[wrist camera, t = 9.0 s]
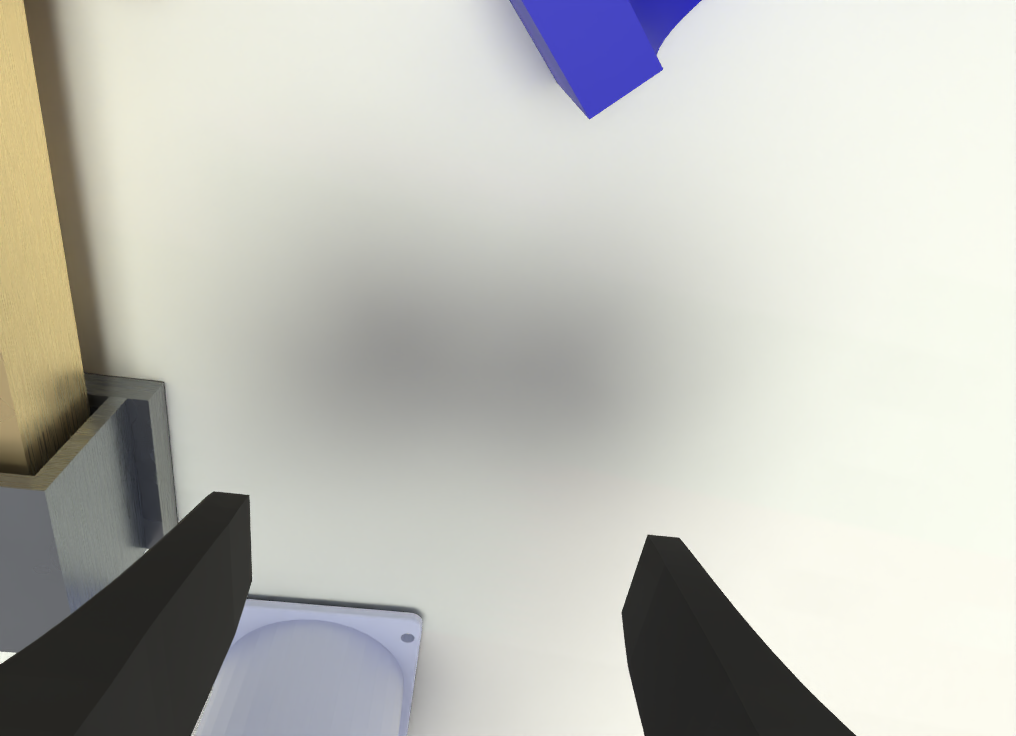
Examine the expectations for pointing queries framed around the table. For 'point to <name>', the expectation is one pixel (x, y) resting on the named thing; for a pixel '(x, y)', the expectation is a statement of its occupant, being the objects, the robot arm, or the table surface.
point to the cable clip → (600, 43)
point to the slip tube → (32, 275)
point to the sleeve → (85, 509)
